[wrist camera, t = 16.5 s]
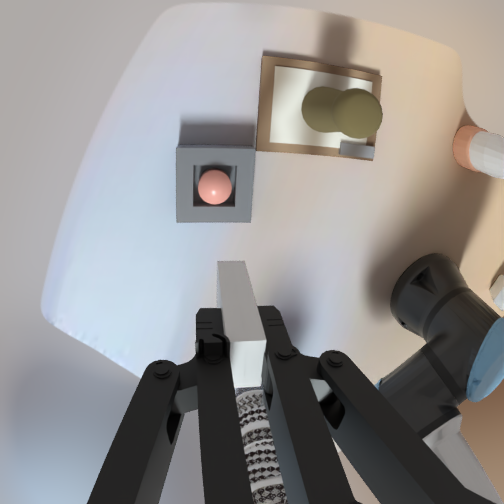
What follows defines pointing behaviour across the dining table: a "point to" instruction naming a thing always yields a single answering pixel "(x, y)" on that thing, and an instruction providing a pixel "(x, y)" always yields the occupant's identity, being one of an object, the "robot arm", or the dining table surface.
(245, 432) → the decorative candle
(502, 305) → the figurine
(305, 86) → the clipboard
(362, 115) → the pepper shaker
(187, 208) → the button housing
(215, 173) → the button
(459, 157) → the pepper shaker
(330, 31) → the dining table surface
